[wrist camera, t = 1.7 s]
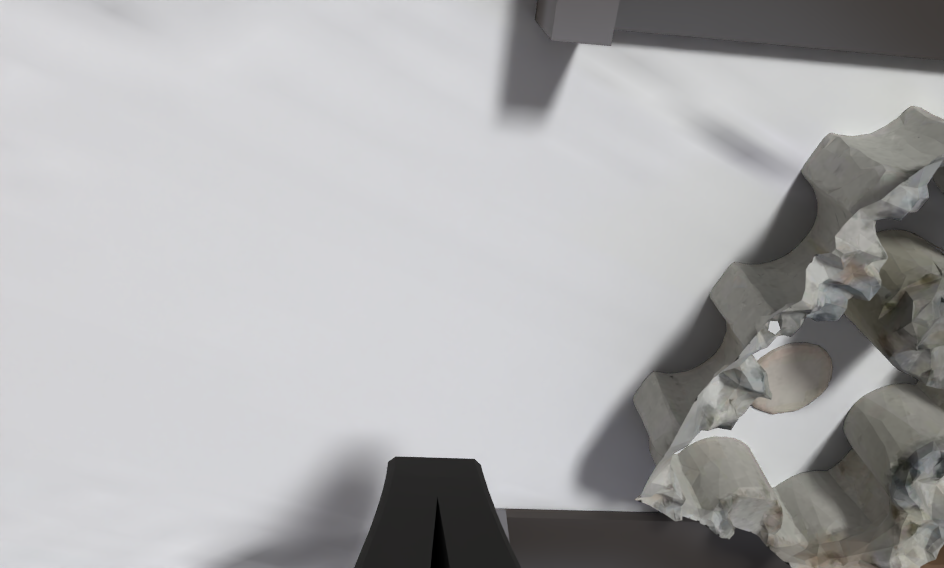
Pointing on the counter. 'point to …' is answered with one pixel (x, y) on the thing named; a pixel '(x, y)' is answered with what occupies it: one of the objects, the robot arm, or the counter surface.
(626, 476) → the counter surface
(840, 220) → the egg carton
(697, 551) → the dark tray
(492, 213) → the counter surface
